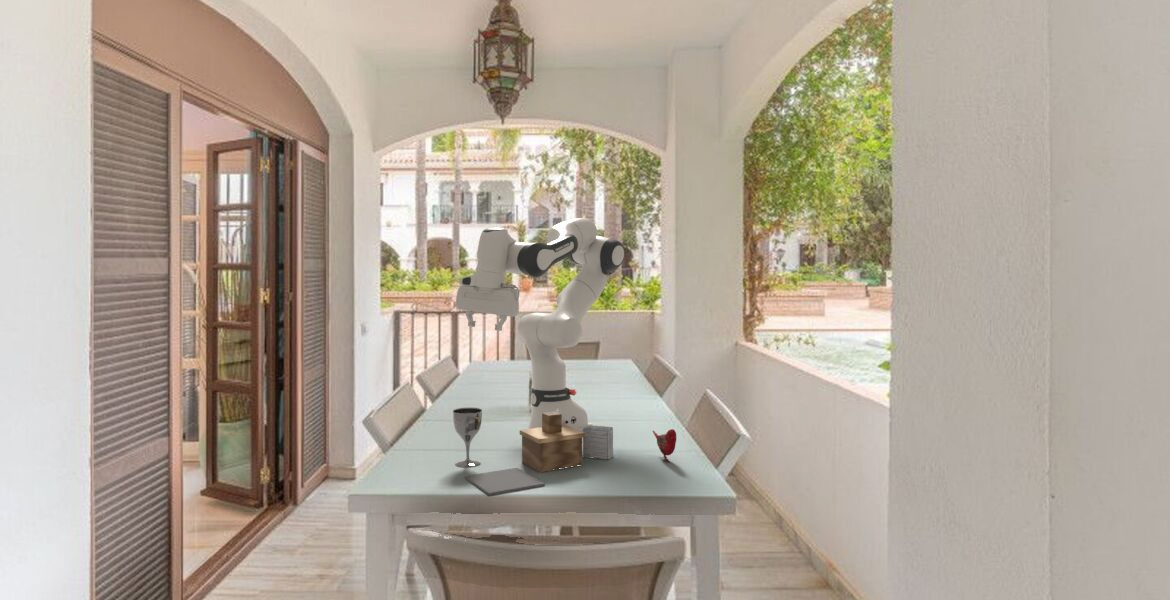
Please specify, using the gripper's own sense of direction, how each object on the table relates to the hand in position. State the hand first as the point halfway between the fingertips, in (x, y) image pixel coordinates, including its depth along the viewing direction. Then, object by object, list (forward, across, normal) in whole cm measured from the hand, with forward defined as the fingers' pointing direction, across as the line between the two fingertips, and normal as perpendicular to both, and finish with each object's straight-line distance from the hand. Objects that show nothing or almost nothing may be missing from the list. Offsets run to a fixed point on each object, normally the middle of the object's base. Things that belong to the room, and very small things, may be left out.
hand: (484, 328), depth 213 cm
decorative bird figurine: (+31, -54, -16) cm, 64 cm away
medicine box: (+33, -36, -10) cm, 50 cm away
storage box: (+34, -28, +2) cm, 44 cm away
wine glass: (+37, -7, +12) cm, 40 cm away
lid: (+26, -27, +3) cm, 38 cm away
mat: (+36, -24, +22) cm, 49 cm away
